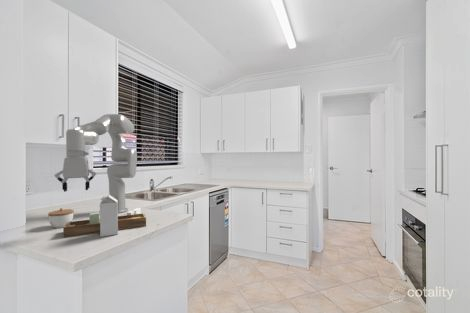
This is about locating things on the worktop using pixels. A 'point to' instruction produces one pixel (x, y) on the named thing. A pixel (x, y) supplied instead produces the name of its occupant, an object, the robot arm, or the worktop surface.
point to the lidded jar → (60, 217)
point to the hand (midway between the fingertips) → (76, 190)
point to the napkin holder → (134, 211)
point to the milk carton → (108, 216)
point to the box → (87, 228)
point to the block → (94, 218)
